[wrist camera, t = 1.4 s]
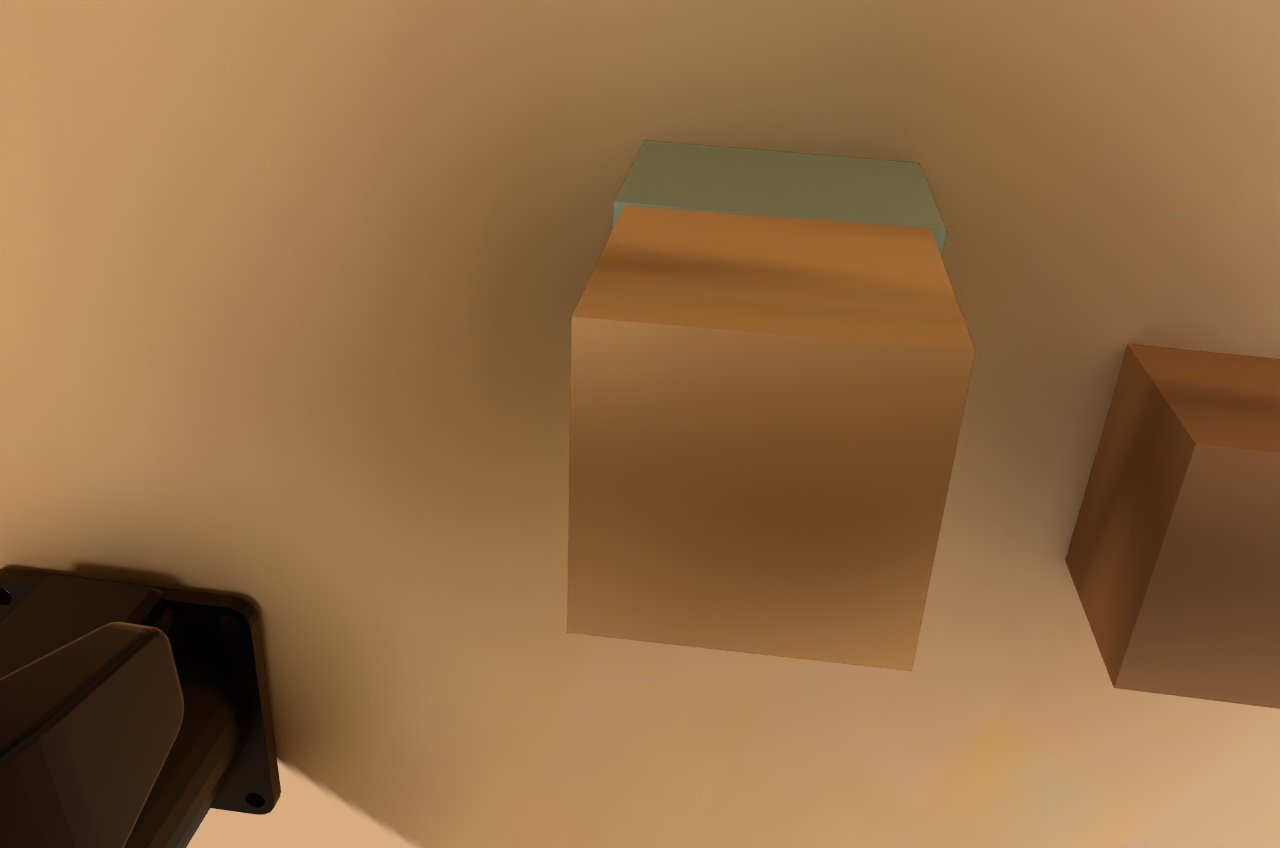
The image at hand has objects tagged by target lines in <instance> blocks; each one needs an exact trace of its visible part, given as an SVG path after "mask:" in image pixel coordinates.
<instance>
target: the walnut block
mask: <svg viewBox="0 0 1280 848" xmlns="http://www.w3.org/2000/svg"><path fill="white" fill-rule="evenodd" d="M1065 561H1066V564H1067V566H1068V569H1069V572H1070V574H1071V577H1072V579H1073V582H1074V585H1075V587H1076V590H1077V592H1078V595H1079V598H1080V600H1081V603H1082V605H1083V608H1084V611H1085V613H1086V616H1087V619H1088V621H1089V624H1090V626H1091V629H1092V632H1093V634H1094V637H1095V639H1096V642H1097V645H1098V647H1099V650H1100V653H1101V655H1102V658H1103V660H1104V663H1105V666H1106V668H1107V671H1108V673H1109V676H1110V679H1111V681H1112V684H1113V686H1114V688H1120V689H1128V690H1136V691H1143V692H1151V693H1159V694H1167V695H1175V696H1183V697H1191V698H1199V699H1207V700H1215V701H1223V702H1231V703H1239V704H1247V705H1255V706H1262V707H1270V708H1278V709H1280V359H1271V358H1262V357H1252V356H1242V355H1232V354H1222V353H1212V352H1202V351H1192V350H1182V349H1172V348H1162V347H1152V346H1142V345H1132V344H1128V346H1127V349H1126V353H1125V356H1124V360H1123V363H1122V367H1121V370H1120V373H1119V377H1118V380H1117V384H1116V387H1115V391H1114V394H1113V398H1112V401H1111V405H1110V408H1109V411H1108V415H1107V418H1106V422H1105V425H1104V429H1103V432H1102V436H1101V439H1100V443H1099V446H1098V450H1097V453H1096V456H1095V460H1094V463H1093V467H1092V470H1091V474H1090V477H1089V481H1088V484H1087V488H1086V491H1085V494H1084V498H1083V501H1082V505H1081V508H1080V512H1079V515H1078V519H1077V522H1076V526H1075V529H1074V532H1073V536H1072V539H1071V543H1070V546H1069V550H1068V553H1067V557H1066V560H1065Z"/></svg>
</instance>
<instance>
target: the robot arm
mask: <svg viewBox="0 0 1280 848" xmlns="http://www.w3.org/2000/svg"><path fill="white" fill-rule="evenodd" d="M4 589H5V590H4ZM6 590H7V591H8V592H9V593H8V592H7V591H6ZM228 616H230V617H233V618H235V619H236V620H237V621H238V622H239V623H236V622H233V621H232V620H231V619H229V618H228ZM280 793H281V789H280V781H279V773H278V765H277V758H276V750H275V742H274V735H273V727H272V719H271V712H270V704H269V696H268V689H267V681H266V674H265V666H264V658H263V651H262V643H261V635H260V628H259V620H258V615H257V613H256V610H255V609H254V608H253V606H252V605H251V604H250V603H248V602H247V601H245V600H243V599H241V598H237V597H232V596H224V595H216V594H208V593H200V592H192V591H184V590H176V589H168V588H160V587H152V586H144V585H136V584H128V583H120V582H111V581H103V580H95V579H87V578H79V577H71V576H63V575H55V574H47V573H39V572H31V571H23V570H15V569H0V848H186V847H187V845H188V843H189V841H190V840H191V838H192V837H193V835H194V833H195V832H196V830H197V829H198V827H199V825H200V823H201V822H202V820H203V819H204V817H205V815H206V814H207V812H208V810H209V809H210V808H216V809H222V810H229V811H237V812H243V813H251V814H267V813H269V812H271V810H272V809H273V808H274V806H275V805H276V803H277V801H278V799H279V797H280Z"/></svg>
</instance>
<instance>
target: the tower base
mask: <svg viewBox="0 0 1280 848" xmlns="http://www.w3.org/2000/svg"><path fill="white" fill-rule="evenodd" d="M625 205H631V206H644V207H657V208H670V209H683V210H696V211H709V212H722V213H736V214H749V215H762V216H775V217H788V218H801V219H814V220H827V221H840V222H854V223H867V224H881V225H894V226H907V227H920V228H931V231H932V234H933V237H934V239H935V242H936V245H937V248H938V250H939V253H940V256H941V259H942V254H943V249H944V244H945V239H946V233H947V229H946V227H945V224H944V222H943V220H942V217H941V215H940V212H939V210H938V207H937V205H936V202H935V200H934V198H933V195H932V193H931V190H930V188H929V185H928V183H927V180H926V178H925V176H924V173H923V171H922V168H921V166H920V163H915V162H903V161H891V160H878V159H866V158H854V157H842V156H830V155H818V154H805V153H793V152H781V151H769V150H757V149H745V148H733V147H720V146H708V145H696V144H684V143H672V142H660V141H648V140H645V141H644V143H643V145H642V147H641V149H640V151H639V153H638V155H637V157H636V159H635V161H634V163H633V165H632V167H631V169H630V171H629V173H628V175H627V177H626V178H625V180H624V182H623V184H622V186H621V188H620V190H619V192H618V194H617V196H616V198H615V200H614V206H613V229H614V227H615V225H616V222H617V220H618V218H619V216H620V214H621V212H622V210H623V208H624V206H625ZM613 229H612V231H613Z"/></svg>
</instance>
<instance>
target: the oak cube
mask: <svg viewBox="0 0 1280 848" xmlns="http://www.w3.org/2000/svg"><path fill="white" fill-rule="evenodd" d="M974 356H975V349H974V346H973V343H972V341H971V338H970V335H969V332H968V330H967V327H966V324H965V321H964V319H963V316H962V313H961V311H960V308H959V305H958V302H957V300H956V297H955V294H954V291H953V289H952V286H951V283H950V280H949V278H948V275H947V272H946V270H945V267H944V264H943V261H942V259H941V256H940V253H939V250H938V248H937V245H936V242H935V239H934V237H933V234H932V231H931V228H920V227H907V226H894V225H881V224H867V223H854V222H840V221H827V220H814V219H801V218H788V217H775V216H762V215H749V214H736V213H722V212H709V211H696V210H683V209H670V208H657V207H644V206H631V205H625V206H624V208H623V210H622V212H621V214H620V216H619V218H618V220H617V222H616V225H615V227H614V229H613V231H612V233H611V235H610V237H609V239H608V241H607V243H606V246H605V248H604V250H603V252H602V254H601V256H600V258H599V260H598V262H597V264H596V266H595V269H594V271H593V273H592V275H591V277H590V279H589V281H588V283H587V285H586V287H585V290H584V292H583V294H582V296H581V298H580V300H579V302H578V304H577V306H576V308H575V311H574V313H573V315H572V321H571V395H570V468H569V541H568V615H567V633H575V634H584V635H593V636H602V637H611V638H620V639H629V640H638V641H647V642H656V643H665V644H674V645H683V646H692V647H701V648H710V649H719V650H727V651H736V652H745V653H754V654H763V655H772V656H781V657H790V658H799V659H808V660H817V661H826V662H835V663H844V664H853V665H862V666H871V667H880V668H889V669H897V670H906V671H912V667H913V662H914V657H915V652H916V646H917V641H918V636H919V631H920V626H921V621H922V616H923V611H924V606H925V601H926V596H927V591H928V586H929V581H930V576H931V571H932V566H933V561H934V556H935V551H936V546H937V541H938V536H939V531H940V526H941V521H942V516H943V511H944V506H945V501H946V496H947V491H948V486H949V481H950V476H951V471H952V466H953V461H954V456H955V451H956V446H957V441H958V436H959V431H960V426H961V421H962V416H963V411H964V406H965V401H966V396H967V391H968V386H969V381H970V376H971V371H972V366H973V361H974Z"/></svg>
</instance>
